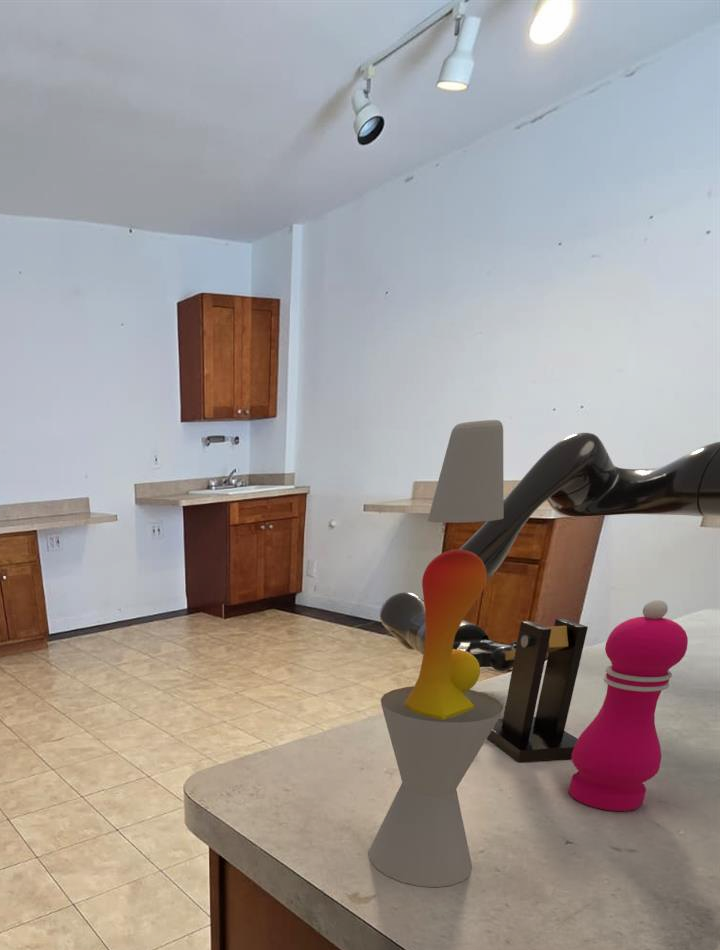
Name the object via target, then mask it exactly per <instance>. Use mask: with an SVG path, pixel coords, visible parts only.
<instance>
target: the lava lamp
mask: <svg viewBox="0 0 720 950" xmlns="http://www.w3.org/2000/svg"><path fill="white" fill-rule="evenodd" d="M432 499H433V500H432V502H431V507H430V511H429V515H428V517H427V522H429V523H431V522H432V523H441V524H442V523H445V524H447V523H449V524H451V523H452V524H453V523H454V524H455V523H457V524H459V523H461V524H462V523H466V524H471V523H481V522H486V521H493V520H500V519H503V518H504V500H505V499H504V424H503V423H502V421H500V420H498V419H487V420H485V419H484V420H475V421H467V422H466V421H465V422H460V423H457V424H456V425H455V426H454V427H453V428H452V430H451V433H450V436H449V439H448V444H447V446H446V451H445V454H444V458H443V461H442V466H441V469H440V473H439V477H438V481H437V484H436V488H435V492H434V495H433V498H432ZM486 580H487V572H486V567H485V565H484V563H483V561H482V560H481V559H480V558H479V557H478V556H477V555H476V554H474V553H472V552H470V551H467V550H462V549H460V548H456V549H450V550H449V549H448V550H447V551H446V550H445V551H444V552H442V553H440V554H438V555H437V556H435V557H434V558H433V559H432V560H431V561H430V562H429V563H428V564H427V566H426V568H425V569H424V572H423V575H422V580H421V587H422V595H423V597H422V598H423V600H424V606H425V624H426V634H425V646H424V656H423V655H422V659H423V660H422V661H421V666H420V670H419V674H418V678H417V680H416V681H415V684H414V685H413V686H404V687H401V688H395V689H392V690H389V691H388V692H385V693H383V696H381V698H380V705H381V709H382V713H383V717H384V720H385V724H386V728H387V732H388V735H389V739H390V742H391V746H392V750H393V753H394V757H395V761H396V764H397V765H396V766H397V768H398V772H399V776H400V779H401V784H400V786H399V787H398V790H397V792H396V794H395V796H394V797H393V800H392V802H391V804H390V806H389V809H388V810H387V812H386V815H385V816H384V818H383V821H382V823H381V825H380V827H379V829H378V830H377V833H376V835H375V837H374V839H373V841H372V843H371V845H370V847H369V849H368V851H367V853H368V858H369V862H370V863H371V864H372V865H373V866H374V868H375V869H376V870H378V871H379V872H381V873H382V874H383V875H384V876H386V877H389V878H391V879H394V881H395V880H396V881H397V882H401V883H403V884H409V885H412V886H416V887H427V888H441V887H451V886H453V885H456V884H459V883H462V882H464V881H465V880H466V879H467V878H468V877H469V876H470V875H471V873H472V869H473V865H472V859H471V854H470V849H469V844H468V840H467V835H466V830H465V824H464V820H463V815H462V811H461V805H460V800H459V796H458V791H457V789H458V787H459V785H460V783H461V782H462V780H463V778H464V777H465V775H466V773H467V772H468V770H469V769H470V767H471V765H472V764H473V762H474V761H475V759H476V758H477V756H478V754H479V753H480V750H481V749H482V748H483V746H484V744H485V742H486V741H487V740H488V739H487V737H488V736H489V734H490V732H491V731H492V729H493V728H494V726H495V724H496V723H497V721H498V719H500V718H501V716H502V712H503V708H504V705H503V704H502V703H501V702H500V700H498V699H497V698H495V697H493V696H491V695H489V694H486V693H484V692H480V691H477V690H473V689H472V688H473V687H474V686H475V685H476V684H477V682H478V681H479V678H480V676H481V675H480V674H481V669H480V666H479V663H478V661H477V659H476V658H475V657H474V656H473V655H472V654H470V653H469V652H467V651H464V650H457V649H456V650H452V649H453V644H454V639H455V635H456V633H457V631H458V629H459V627H460V625H461V623H462V621H463V620H465V617H466V615H467V614H468V613H469V611H470V610H471V609H472V607H473V605H474V604H475V603H476V601H477V600H478V599H479V597H480V596H481V595H482V593H483V591H484V589H485V587H486V584H487V581H488V580H487V581H486Z"/></svg>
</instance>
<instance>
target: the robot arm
mask: <svg viewBox="0 0 720 950" xmlns="http://www.w3.org/2000/svg"><path fill="white" fill-rule="evenodd" d="M503 500H504V518H503V519H500V520H493V521H484V523H483V524H482V526H481V527H480V528H479V529H478V530H477V531H476V532H475V533H474V534H473V535H472V536H471V537H470V538H469V539H468V540H467V541H466V542H465V543H464V544H463V545H462V546H461V547H460V548H459V549H462V550H467V551H470V552H472V553H474V554H476V555H477V556H478V557H479V558H480V559H481V560H482V561H483V563H484V565H485V567H486V572H487V580H486V582H487V581H488V580H489V579H490V578H491V577H492V576H493V575H494V574H495V573H496V572H497V570H498V569H499V568H500V566H501V565H502V563H503V562H504V561H505V559H506V557H507V556H508V554H509V552H510V551H511V548H512V546H513V545H514V543H515V541H516V539H517V538H518V535H519V534H520V532H521V530H522V529H523V527H524V526H525V525H526V523H527V522H528V520H529V519H530V518H531V516H533V514H534V513H535V512H536V511H537V510H538V509H539V508H540V507H541V506H542V505H543V504H544V503H545V502H546V501H547V502H548V504H549V505H550V507H551V508H552V509H553V510H554V511H555V512H556V513H557V514H559V515H560V516H564V517H565V516H566V517H570V518H586V517H587V518H588V517H604V516H606V517H607V516H619V515H620V516H621V515H654V516H655V515H656V516H657V515H660V516H690V517H700V518H701V517H703V518H720V441H717V442H712V443H709V444H705V445H702V446H700V447H697V448H696V449H693V450H691V451H690V452H687V453H685V454H684V455H681V456H680V457H678V458H676V459H674V460H672V461H670V462H668V463H667V464H664V465H662V466H657V467H653V468H622V467H618V466H616V465H614V463H613V461H612V458H611V456H610V455H609V453H608V450H607V449H606V447H605V445H604V443H603V442H602V440H601V439H600V437H598V435H596V434H594V433H591V432H579V433H575V434H572V435H569V436H567V437H564V438H563V439H561V440H560V441H558V442H557V443H556V444H554V445H552V446H551V447H550V448H549V449H548V450H547V451H545V453H544V454H543V455H542V456H541V457H540V458H539V459H538V460H536V462H535V464H533V465H532V467H531V468H530V469H529V470H528V471H527V473H525V475H524V476H523V477H522V478H521V480H520V481H519V482H518V483H517V485H515V487H514V488H513V489H512V490H511V491H510V492H509V493H508V495H507V496H506V497H505V499H503ZM379 620H380V622H381V624H382V626H383V627H384V628H385V629H386V630H387V631H388V632H389V633H390V634H391V635H392V636H393V637H394V638H395V639H396V640H397V641H398V642H399V643H400V644H401V645H402V646H403V647H404V648H405V649H406V650H409V651H410V650H411V651H416V652H418V653H419V654H421V655H422V657H423V656H424V646H425V634H426V624H425V606H424V598H421V597H420V595H417V594H416V593H413V592H411V591H401V592H397V593H395V594H393V595H391V596H390V597H389V598H387V599H386V600H385V601H384V603H383V604H382V605H381V608H380V611H379ZM517 641H518V640H515V641H511V643H510V644H509V645H508V644H502V643H496V642H494V641H493V640H490V638H489V635H488V634H487V632H486V631H485V630H484V629H483V628H482V627H480V626H478V625H477V624H474V623H472V622H470V621H468V620H465V619H463V621H462V623H461V625H460V627H459V629H458V631H457V633H456V635H455V639H454V644H453V649H452V650H456V649H457V650H464V651H467V652H469V653H470V654H472V655H473V656H474V657H475V658H476V659H477V661H478V663H479V666H480V670H483V671H484V670H492V671H497V672H499V671H498V670H495V669H494V668H493V667H492V666H491V665H490V661H489V659H490V655H491V653H492V652H493V651H494V650H495V649H497V648H499V647H503V646H506V647H510V648H512V649H516V646H517ZM422 660H423V658H422ZM510 670H511V671H512V668H511V669H510ZM501 672H503V673H504V672H505V671H501Z"/></svg>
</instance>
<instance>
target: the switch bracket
mask: <svg viewBox="0 0 720 950" xmlns="http://www.w3.org/2000/svg"><path fill="white" fill-rule="evenodd" d="M554 626H567V636H568V647H565V648H563V649H560V650H557V651H555V652H547V649H548V644H549V639H550V634H551V629H550V628H547V627H548V626H544V625H541V624H539V623H536V622H533V621H531V620H522V621H520V626H519V630H518V635H517V640H516V641H517V646H516V652H515V657H514V663H513V668H512V670H511V673H510V680H509V685H508V690H507V694H506V700H505V701H506V702H505V706H504V712H503V718H499V719H498V721H497V723H496V724H495V726H494V728H493V729H492V731H491V732H490V734H489V736H488V737H487V739H486V740H488V741H489V742H491V743H492V744H494V746H496V747H497V748H499V750H501V751H503V752H504V753H505V754H506V755H508V756H509V757H511V758H512V759H513V760H515V761H516V762H517V763H528V762H546V761H561V760H572V752H573V749H574V746H575V743H576V742H577V740H578V738H577V737H576V736H574V735H572V734H571V733H569V732H567V731H566V730H565V729H566V725H567V720H568V716H569V712H570V706H571V702H572V698H573V694H574V690H575V687H576V686H575V685H576V681H577V677H578V673H579V668H580V664H581V659H582V655H583V649H584V646H585V642H586V637H587V634H588V629H589V627H588V626H587V625H585V624H584V625H583V624H581V623H578V622H576V621H572V620H570V619H566V618H555V621H554ZM547 654H548V655H547ZM546 658H547V659H546ZM545 663H546V664H545ZM544 667H545V669H544ZM543 673H544V674H543ZM542 678H543V679H542ZM541 681H542V683H541ZM540 687H541V688H540ZM539 691H540V694H539ZM538 697H539V698H538ZM537 702H538V703H537ZM536 706H537V707H536Z"/></svg>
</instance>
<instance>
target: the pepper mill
mask: <svg viewBox="0 0 720 950" xmlns="http://www.w3.org/2000/svg"><path fill="white" fill-rule="evenodd" d="M668 609H669V607H668V604H667V603H666V602H665V601H663V600H662V599H653V600H650V601H648V602H647V603H645V604H644V606H643V607H642V615H643V616H637V617H633V618H629V619H626V620H624V621H623V622H621V623H619V624H618V625H616V626H615V627H614V628H613V630H612V631H611V632H610V633H609V635H608V637H607V639H606V641H605V647H604V648H605V654H606V656H607V658H608V660H609V661H610V663H611V665H609V666H607V667H606V668H605V672H606V673H605V676H604V677H603V682H604V683H605V684H606V685H607V687H606V694H605V697H604V700H603V703H602V706H601V708H600V709H599V711H598V713H597V714H596V716H595V717H594V718H593V719H592V721H591V722H590V723H589V724H588V725H587V727H586V728H585V729H584V730H583V731H582V732H581V734H580V735H579V736H578V738H577V739H578V740H577V742H576V743H575V746H574V749H573V752H572V759H571V762H572V764H573V766H574V767H575V768H576V770H577V772H575V773H573V774H572V775H571V778H570V784H569V787H568V793H569V794H570V796H571V797H572V798H573V799H574V800H576V801H578V802H580V803H581V804H583V805H585V806H589V807H592V808H595V809H599V810H605V811H614V812H628V811H633V810H636V809H639V808H640V807H641V806H642V805H643V802H644V799H645V797H646V793H647V787H646V785H645V784H644V783H645V782H647V781H650V780H651V779H652V778H654V777H655V776H656V775H657V774H658V773H659V770H660V768H661V763H662V748H661V743H660V739H659V736H658V732H657V729H656V724H655V722H656V719H655V715H656V709H657V704H658V700H659V698H660V696H661V693H662V691H664V690H667V689H668V688H669V687H670V683H669V681H670V680H671V678H672V677H673V674H672V672H671V671H670V669H671V668H673V667H674V666H676V665H677V664H678V663H680V662H681V661H682V659H683V658H684V657H685V655H686V653H687V650H688V644H689V640H688V639H689V638H688V635H687V632H686V630H685V629H684V627H683V626H682V625H680V624H679V623H677V622H676V621H674V620H673V619H669V618H666V617H664V616H666V615H667V613H668Z"/></svg>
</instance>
